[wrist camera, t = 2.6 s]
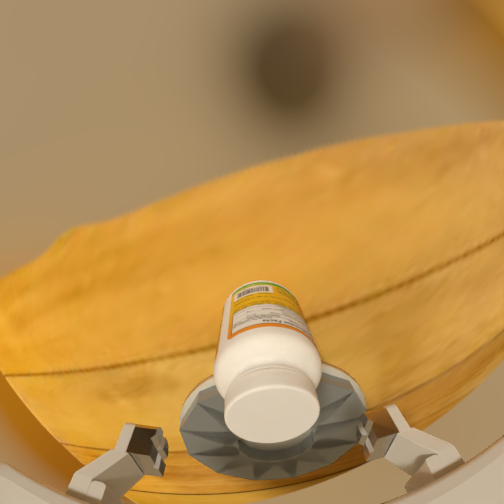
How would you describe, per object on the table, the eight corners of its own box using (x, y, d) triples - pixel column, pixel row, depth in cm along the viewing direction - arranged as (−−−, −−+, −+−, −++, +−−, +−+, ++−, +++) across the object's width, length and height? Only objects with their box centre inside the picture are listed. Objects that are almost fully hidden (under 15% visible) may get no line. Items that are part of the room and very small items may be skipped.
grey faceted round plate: (380, 344, 20) (391, 359, 18) (345, 456, 25) (349, 469, 22) (162, 358, 20) (155, 375, 18) (198, 467, 24) (196, 480, 22)
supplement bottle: (269, 355, 20) (282, 460, 10) (208, 322, 19) (184, 426, 10) (313, 303, 19) (362, 399, 9) (251, 263, 18) (257, 349, 9)
